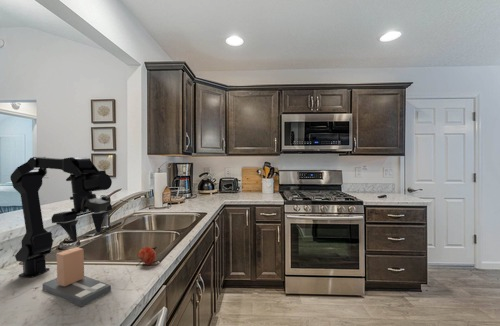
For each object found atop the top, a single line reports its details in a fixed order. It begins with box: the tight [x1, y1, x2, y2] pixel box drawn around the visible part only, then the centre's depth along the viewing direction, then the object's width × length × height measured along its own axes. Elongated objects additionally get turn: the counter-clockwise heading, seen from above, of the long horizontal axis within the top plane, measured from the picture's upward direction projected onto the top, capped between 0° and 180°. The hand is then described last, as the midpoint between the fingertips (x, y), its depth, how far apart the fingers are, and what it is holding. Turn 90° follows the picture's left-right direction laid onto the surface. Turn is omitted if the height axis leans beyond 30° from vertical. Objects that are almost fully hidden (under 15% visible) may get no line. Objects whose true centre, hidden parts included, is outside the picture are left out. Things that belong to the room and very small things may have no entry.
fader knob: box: [56, 246, 85, 286], centre depth 79 cm, size 4×6×10 cm, turn 154°
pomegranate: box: [135, 246, 158, 267], centre depth 96 cm, size 7×7×10 cm
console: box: [41, 275, 112, 308], centre depth 77 cm, size 22×9×2 cm, turn 64°
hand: (87, 236), depth 84 cm, fingers open, 9 cm apart
